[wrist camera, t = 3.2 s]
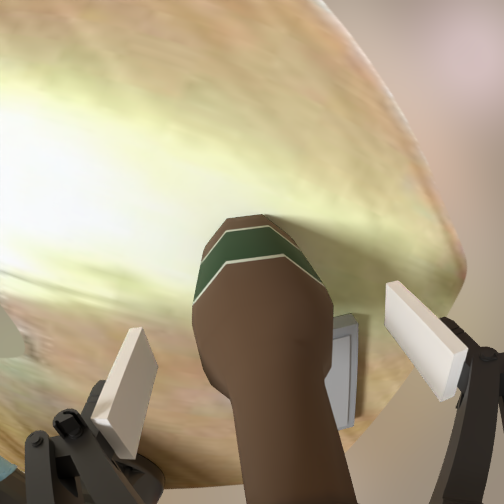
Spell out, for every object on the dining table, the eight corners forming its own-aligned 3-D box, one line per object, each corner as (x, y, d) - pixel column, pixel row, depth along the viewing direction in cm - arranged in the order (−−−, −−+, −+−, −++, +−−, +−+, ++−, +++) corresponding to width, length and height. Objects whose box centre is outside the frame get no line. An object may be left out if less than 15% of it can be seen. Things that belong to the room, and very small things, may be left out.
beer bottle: (216, 199, 26) (174, 502, 3) (305, 224, 27) (504, 463, 5) (194, 284, 28) (152, 576, 6) (277, 303, 29) (359, 570, 7)
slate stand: (257, 435, 36) (259, 448, 33) (232, 337, 30) (232, 351, 28) (349, 415, 36) (354, 427, 34) (351, 313, 30) (359, 325, 28)
